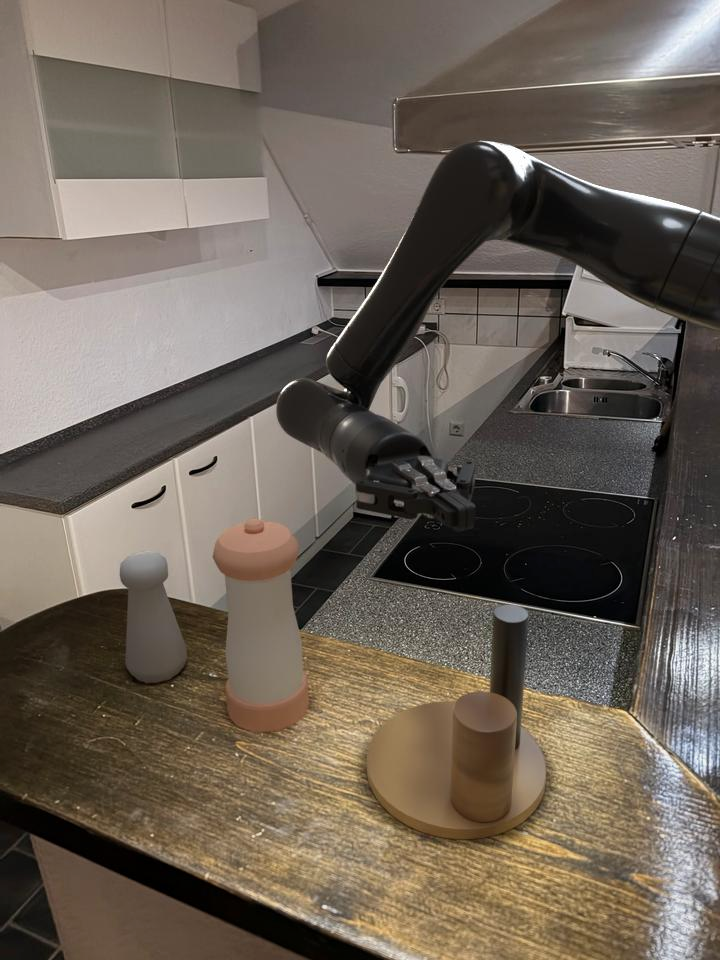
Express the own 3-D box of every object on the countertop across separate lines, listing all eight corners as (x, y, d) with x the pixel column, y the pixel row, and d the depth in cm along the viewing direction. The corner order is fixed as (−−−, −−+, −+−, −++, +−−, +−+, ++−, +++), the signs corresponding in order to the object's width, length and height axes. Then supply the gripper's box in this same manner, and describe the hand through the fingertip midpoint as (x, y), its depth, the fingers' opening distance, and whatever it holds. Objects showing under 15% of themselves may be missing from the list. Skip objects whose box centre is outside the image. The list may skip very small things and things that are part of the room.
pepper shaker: (322, 698, 70) (313, 509, 63) (287, 750, 64) (272, 546, 57) (253, 681, 73) (237, 498, 66) (212, 730, 67) (190, 532, 60)
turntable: (482, 693, 69) (488, 566, 64) (584, 800, 57) (600, 653, 52) (339, 739, 64) (334, 604, 59) (418, 867, 52) (419, 711, 47)
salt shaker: (146, 656, 77) (128, 541, 73) (198, 661, 76) (185, 545, 71) (117, 691, 72) (97, 570, 67) (174, 698, 71) (157, 575, 66)
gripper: (316, 430, 74) (395, 492, 59) (435, 412, 79) (536, 465, 64) (318, 500, 77) (395, 576, 62) (434, 479, 82) (530, 544, 67)
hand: (466, 519), depth 63 cm, fingers closed
